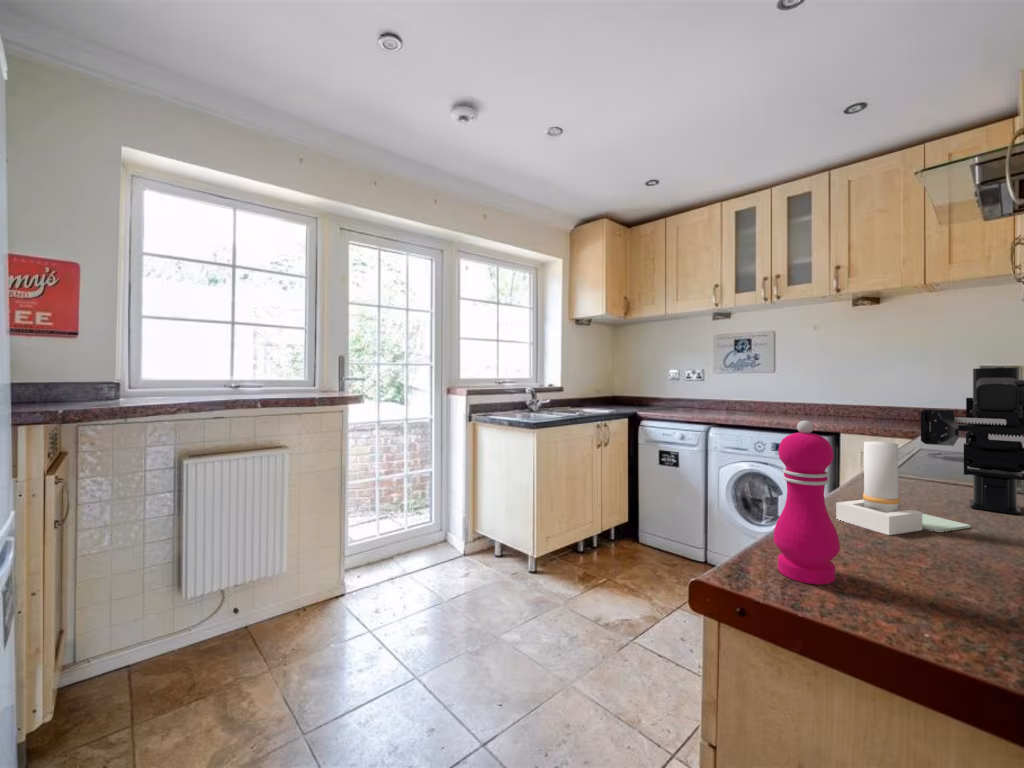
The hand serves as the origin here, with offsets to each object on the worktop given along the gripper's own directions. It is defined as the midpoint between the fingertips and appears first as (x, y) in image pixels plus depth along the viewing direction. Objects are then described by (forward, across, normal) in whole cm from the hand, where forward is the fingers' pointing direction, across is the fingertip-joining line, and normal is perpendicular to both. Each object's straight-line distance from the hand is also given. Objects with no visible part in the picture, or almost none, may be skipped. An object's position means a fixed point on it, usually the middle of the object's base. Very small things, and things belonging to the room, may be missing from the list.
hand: (998, 434), depth 69 cm
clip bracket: (+1, -14, +16) cm, 22 cm away
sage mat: (-5, -8, +16) cm, 19 cm away
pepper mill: (+33, -18, +17) cm, 41 cm away
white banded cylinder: (+1, -14, +17) cm, 22 cm away
